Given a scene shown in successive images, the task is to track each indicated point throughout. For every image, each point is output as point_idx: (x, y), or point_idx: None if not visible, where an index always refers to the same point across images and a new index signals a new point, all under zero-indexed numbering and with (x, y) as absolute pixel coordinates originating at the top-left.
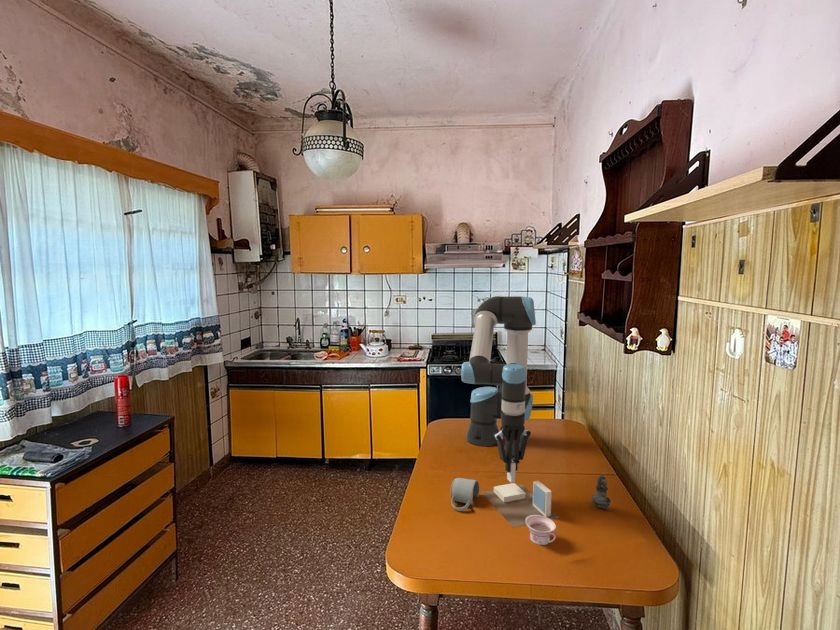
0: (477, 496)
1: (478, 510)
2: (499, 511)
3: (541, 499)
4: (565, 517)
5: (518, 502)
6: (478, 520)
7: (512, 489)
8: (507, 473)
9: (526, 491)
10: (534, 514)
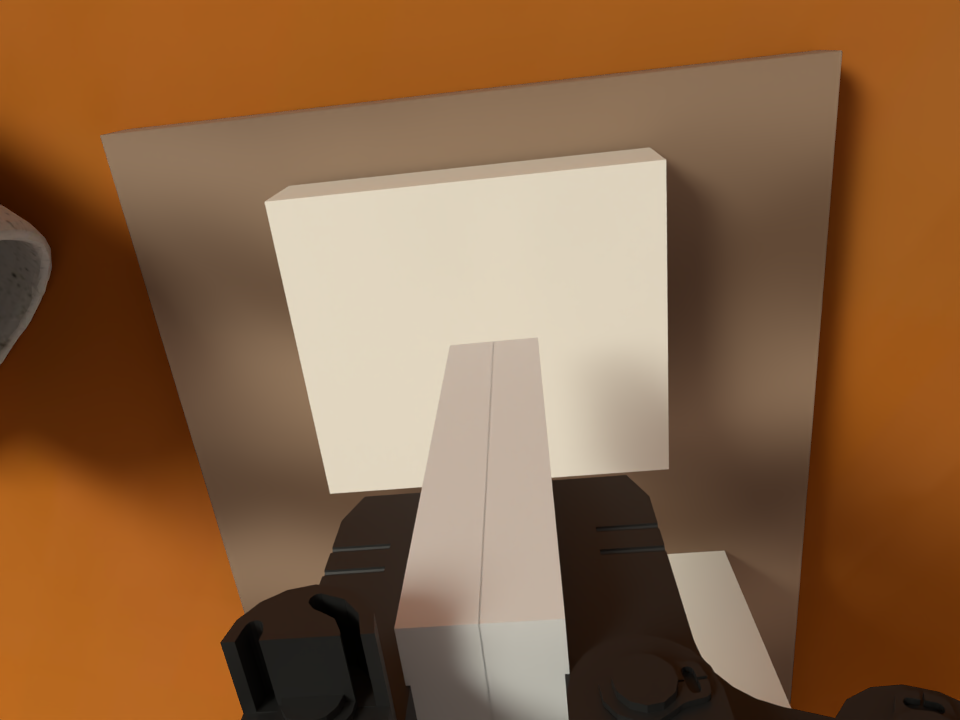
0: (31, 250)
1: (48, 434)
2: (240, 576)
3: None
4: None
5: None
6: (27, 576)
7: None
8: (442, 408)
9: (774, 275)
10: None
